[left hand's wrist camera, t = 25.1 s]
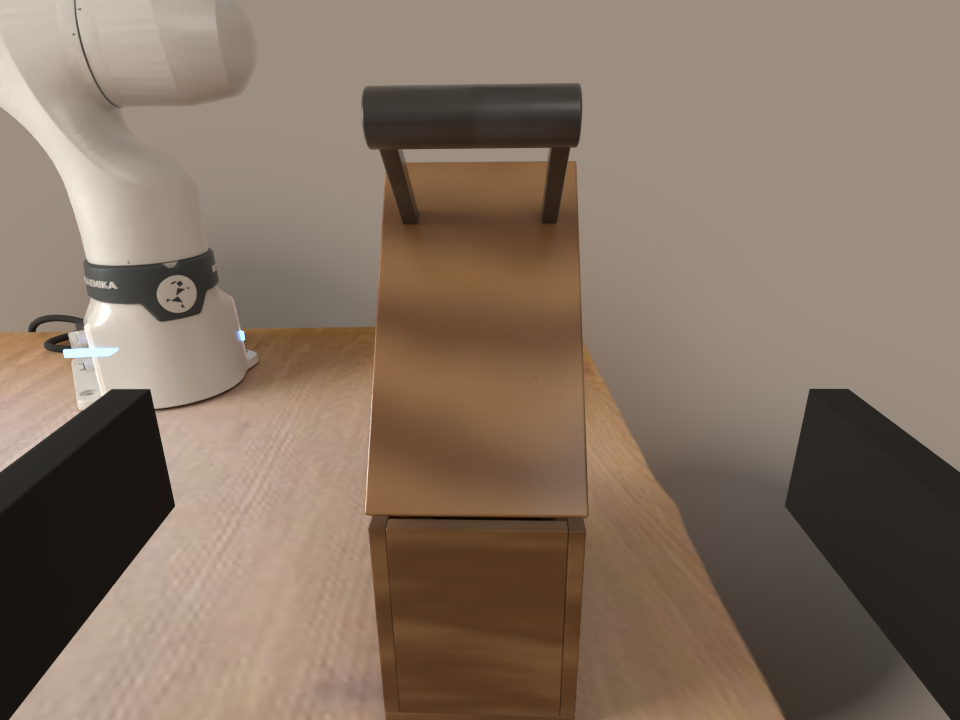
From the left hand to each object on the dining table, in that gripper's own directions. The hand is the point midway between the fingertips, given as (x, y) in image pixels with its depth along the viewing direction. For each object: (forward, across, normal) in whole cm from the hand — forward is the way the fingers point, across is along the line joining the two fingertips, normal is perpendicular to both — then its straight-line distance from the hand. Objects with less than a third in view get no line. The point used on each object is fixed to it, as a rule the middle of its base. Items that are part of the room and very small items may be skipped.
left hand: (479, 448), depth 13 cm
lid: (+15, 0, -3) cm, 16 cm away
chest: (+18, 0, -21) cm, 27 cm away
